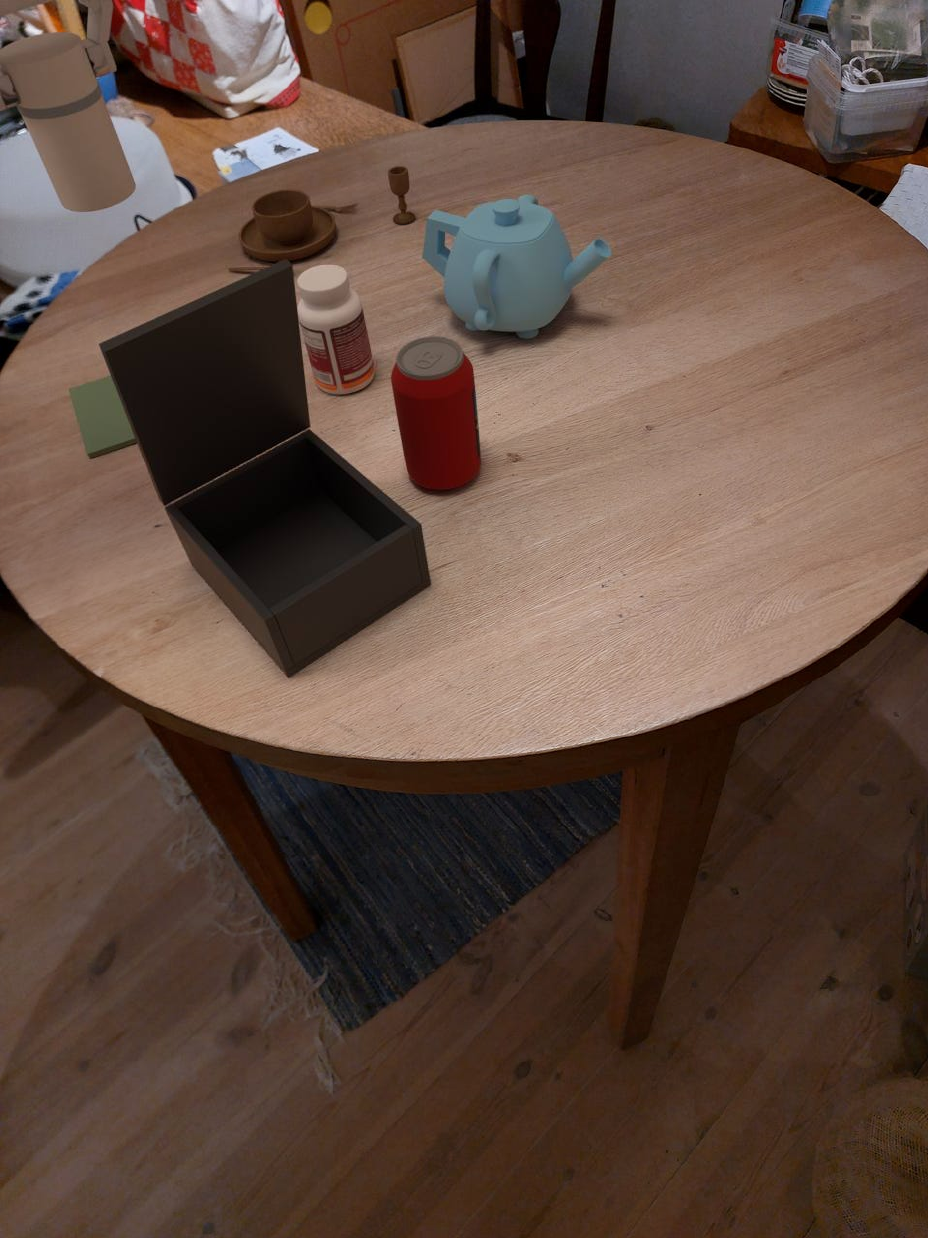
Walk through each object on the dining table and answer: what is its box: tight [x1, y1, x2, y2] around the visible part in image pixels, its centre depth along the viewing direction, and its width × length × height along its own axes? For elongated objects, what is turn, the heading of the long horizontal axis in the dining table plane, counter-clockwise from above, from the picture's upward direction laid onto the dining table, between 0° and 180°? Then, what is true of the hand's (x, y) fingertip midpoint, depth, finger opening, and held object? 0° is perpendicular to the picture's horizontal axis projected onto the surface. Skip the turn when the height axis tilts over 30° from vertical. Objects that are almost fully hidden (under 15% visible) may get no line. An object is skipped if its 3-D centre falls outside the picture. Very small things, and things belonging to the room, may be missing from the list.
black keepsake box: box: [164, 428, 432, 678], centre depth 69 cm, size 16×14×7 cm
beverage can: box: [390, 336, 482, 490], centre depth 74 cm, size 7×7×12 cm
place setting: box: [227, 165, 416, 272], centre depth 104 cm, size 18×20×6 cm
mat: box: [68, 374, 137, 459], centre depth 88 cm, size 12×12×1 cm
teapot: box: [421, 194, 612, 339], centre depth 89 cm, size 20×17×12 cm
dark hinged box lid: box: [98, 259, 311, 507], centre depth 63 cm, size 16×14×1 cm
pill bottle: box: [296, 264, 376, 395], centre depth 84 cm, size 6×6×11 cm
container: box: [0, 31, 137, 213], centre depth 57 cm, size 5×5×9 cm
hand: (55, 89), depth 55 cm, fingers closed on container, 5 cm apart
